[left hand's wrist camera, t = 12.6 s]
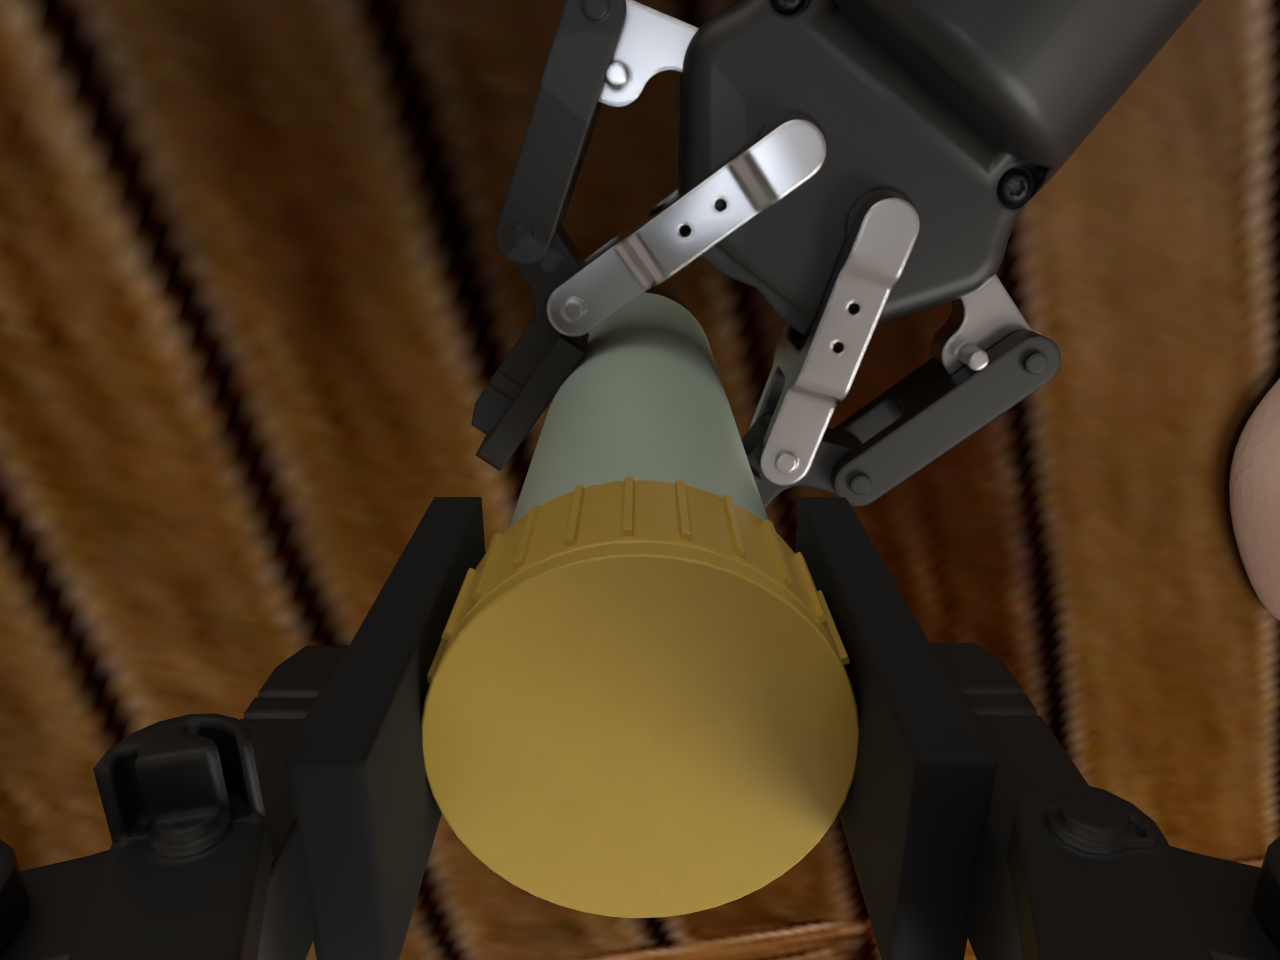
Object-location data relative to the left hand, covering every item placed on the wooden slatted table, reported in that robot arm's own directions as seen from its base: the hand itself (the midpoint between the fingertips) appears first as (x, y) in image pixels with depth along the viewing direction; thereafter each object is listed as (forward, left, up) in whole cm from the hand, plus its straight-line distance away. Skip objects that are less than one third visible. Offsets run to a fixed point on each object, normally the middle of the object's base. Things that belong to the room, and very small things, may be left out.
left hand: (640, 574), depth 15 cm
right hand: (+2, -2, -8) cm, 8 cm away
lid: (0, 0, +4) cm, 4 cm away
